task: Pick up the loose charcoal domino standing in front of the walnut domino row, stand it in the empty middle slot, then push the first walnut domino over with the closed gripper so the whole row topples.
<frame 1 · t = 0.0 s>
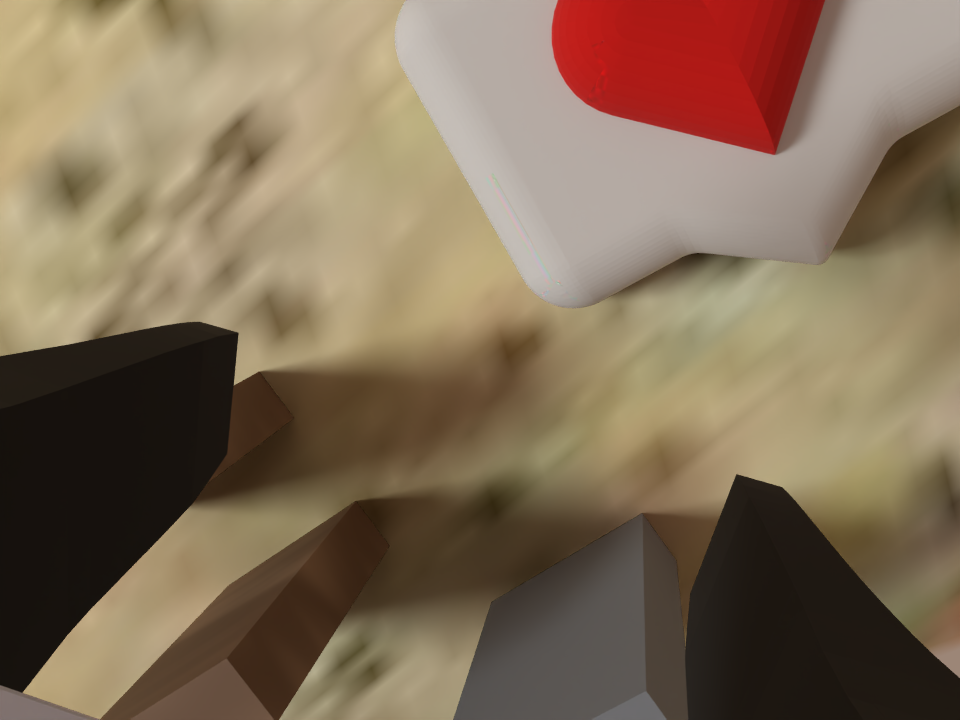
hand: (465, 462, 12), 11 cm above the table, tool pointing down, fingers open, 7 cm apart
domino 4: (306, 566, 25), on the table
domino 5: (212, 441, 25), on the table
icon: (710, 73, 21), on the table
loose domino: (581, 581, 24), on the table
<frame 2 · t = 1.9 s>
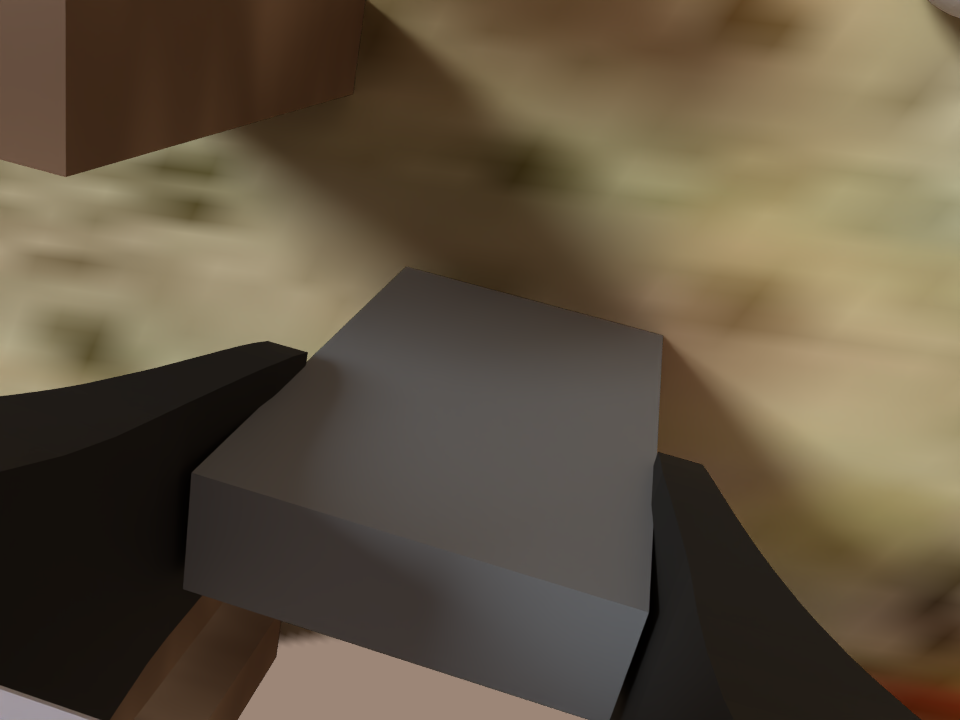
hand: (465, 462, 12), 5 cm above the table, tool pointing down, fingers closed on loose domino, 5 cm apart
domino 4: (227, 15, 15), on the table
domino 1: (183, 601, 21), on the table
domino 2: (195, 443, 19), on the table
loose domino: (522, 338, 17), on the table, touching gripper
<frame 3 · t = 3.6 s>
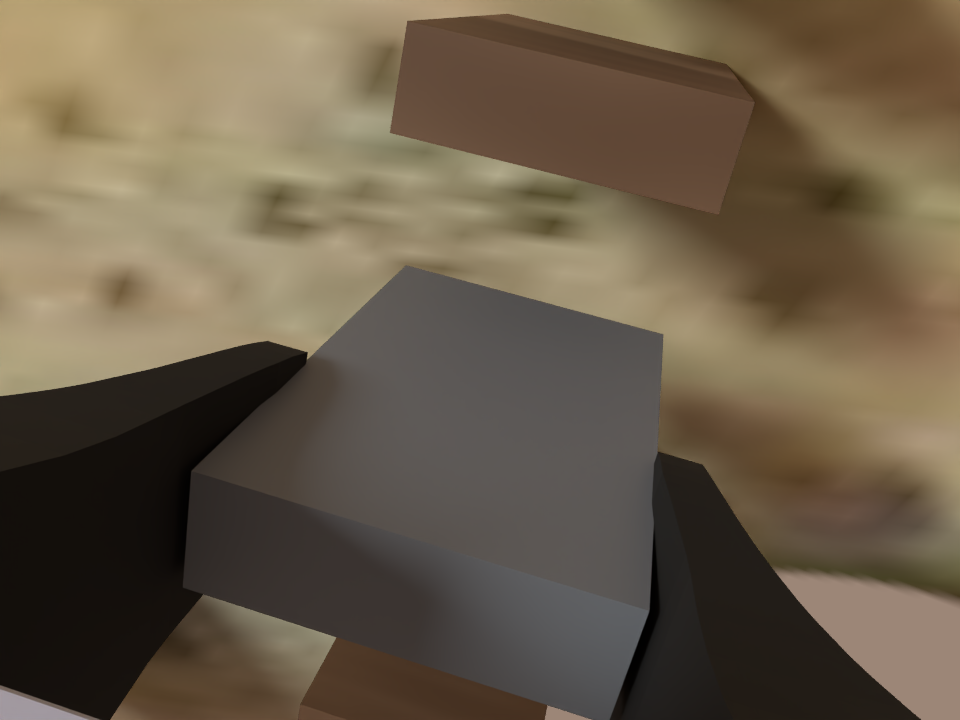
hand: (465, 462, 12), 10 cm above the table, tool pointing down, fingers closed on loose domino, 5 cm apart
domino 4: (606, 75, 20), on the table
domino 1: (486, 549, 25), on the table
loose domino: (523, 337, 17), point 5 cm above the table, touching gripper
when the fingers open (6 cm above the table, at t = 5.1 s): loose domino drops 1 cm, on the table.
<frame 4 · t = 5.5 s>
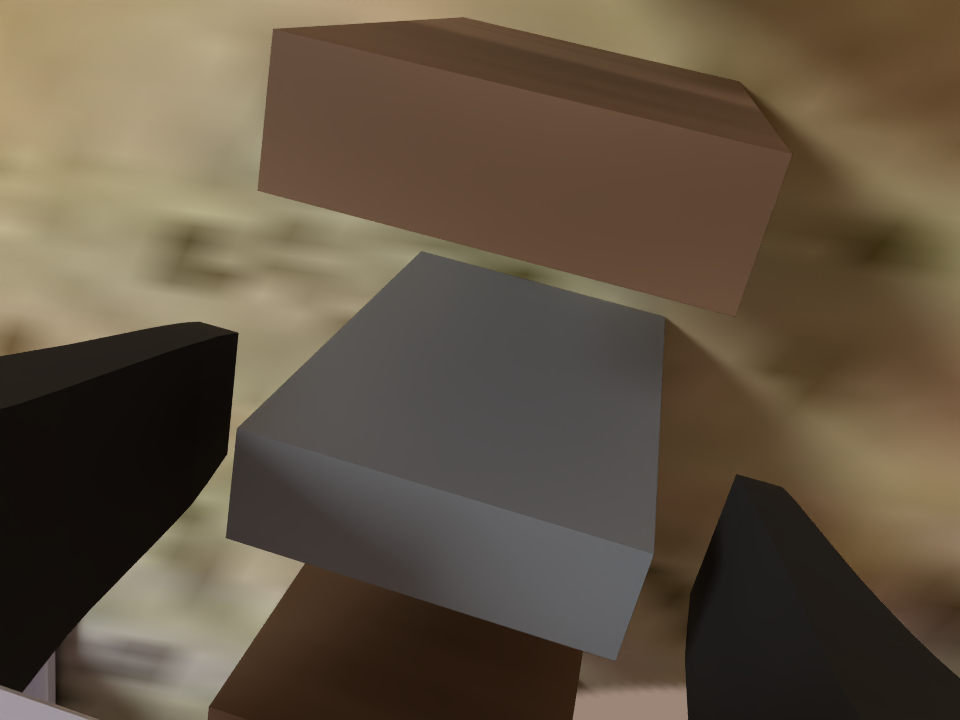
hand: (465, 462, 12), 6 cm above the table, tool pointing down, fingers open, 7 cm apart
domino 4: (587, 94, 16), on the table
domino 2: (486, 503, 19), on the table
loose domino: (532, 320, 17), on the table
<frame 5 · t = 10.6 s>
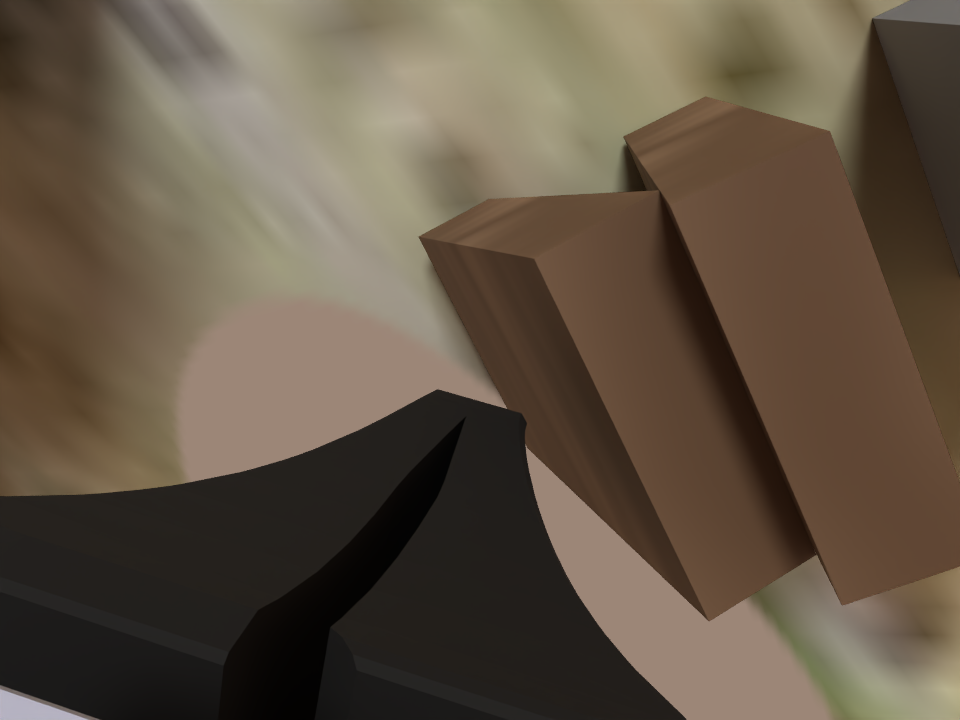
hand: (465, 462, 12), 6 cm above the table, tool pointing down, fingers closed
domino 1: (509, 327, 18), on the table, tilted 28°
domino 2: (715, 238, 16), on the table, tilted 7°
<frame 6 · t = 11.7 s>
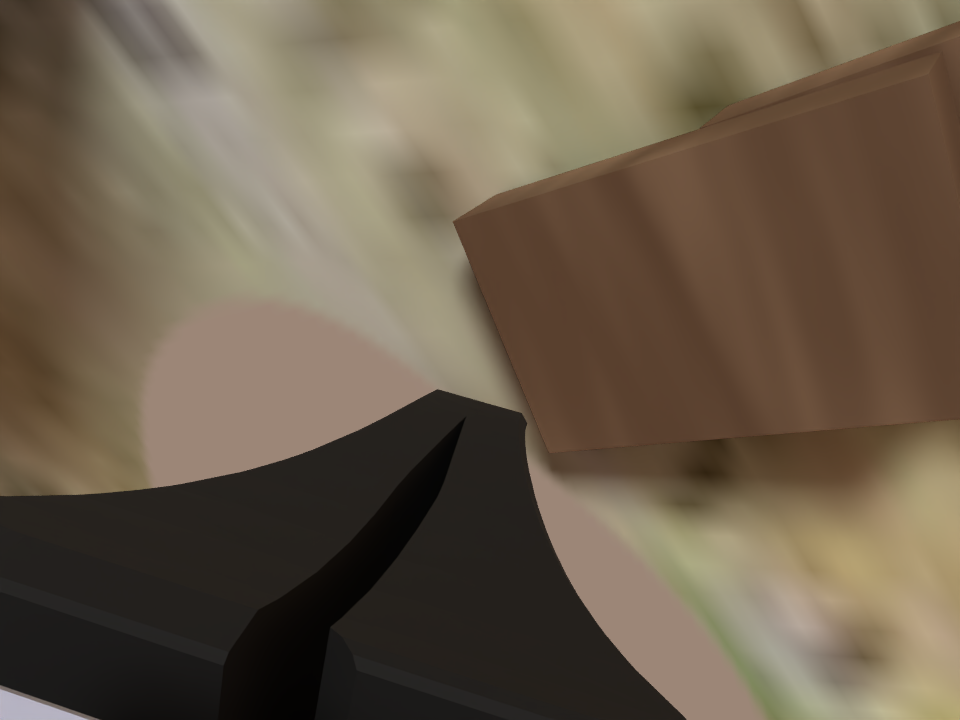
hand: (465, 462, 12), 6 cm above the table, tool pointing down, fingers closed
domino 1: (522, 324, 17), point 1 cm above the table, tilted 70°, touching domino 2
domino 2: (759, 247, 16), point 1 cm above the table, tilted 70°, touching domino 1, loose domino
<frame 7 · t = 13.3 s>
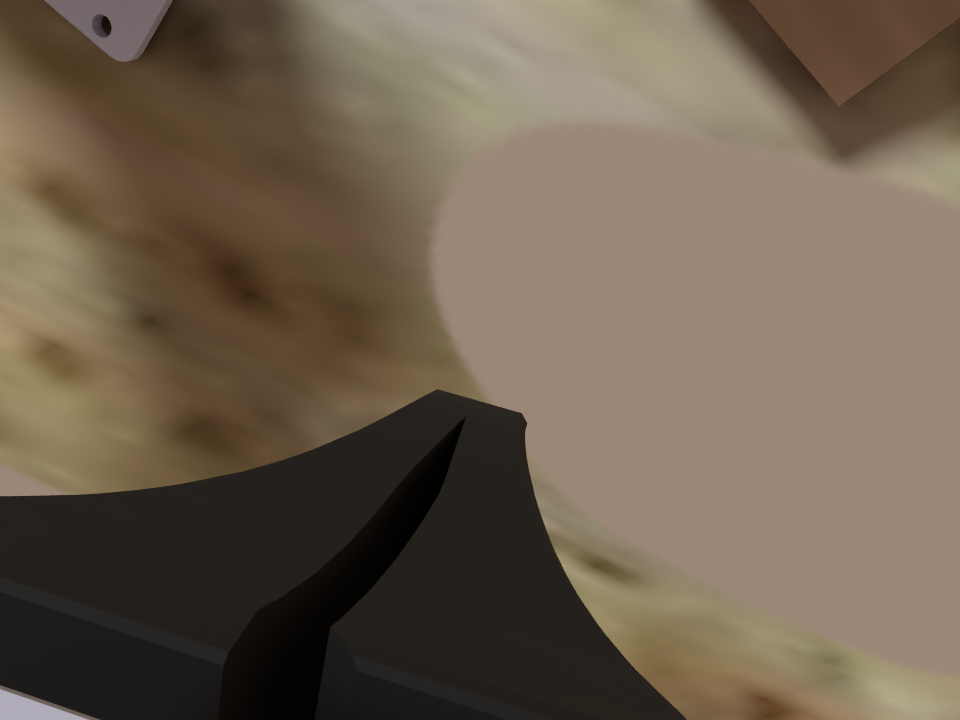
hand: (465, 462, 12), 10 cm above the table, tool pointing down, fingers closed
domino 1: (765, 2, 18), point 1 cm above the table, tilted 72°, touching domino 2
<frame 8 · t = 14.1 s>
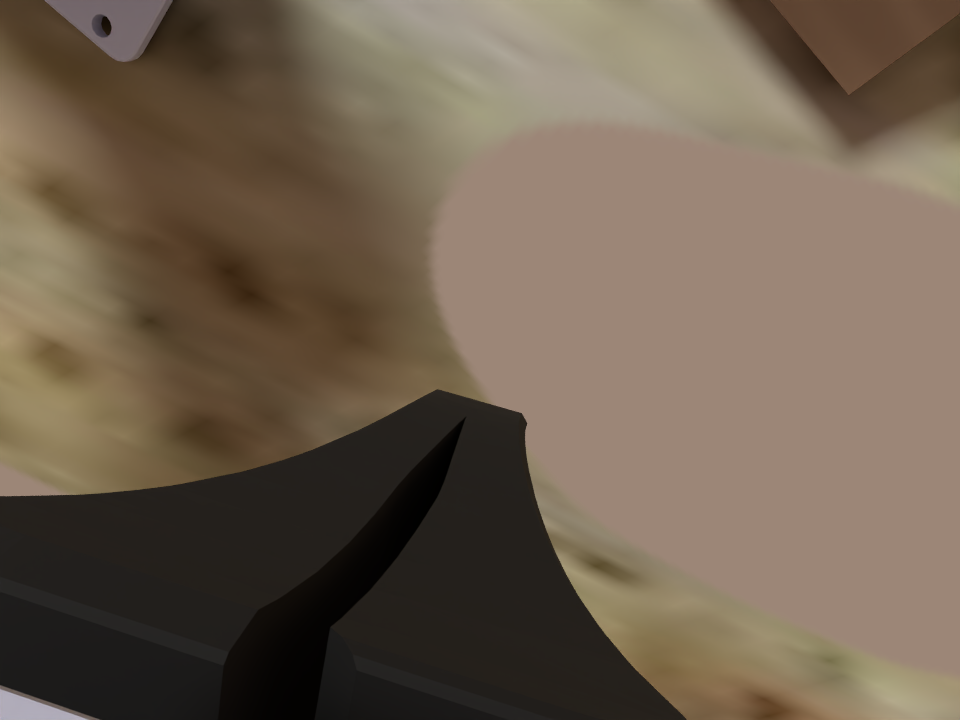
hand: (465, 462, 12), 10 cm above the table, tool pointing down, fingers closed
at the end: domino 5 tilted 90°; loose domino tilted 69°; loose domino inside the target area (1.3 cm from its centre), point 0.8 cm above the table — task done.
